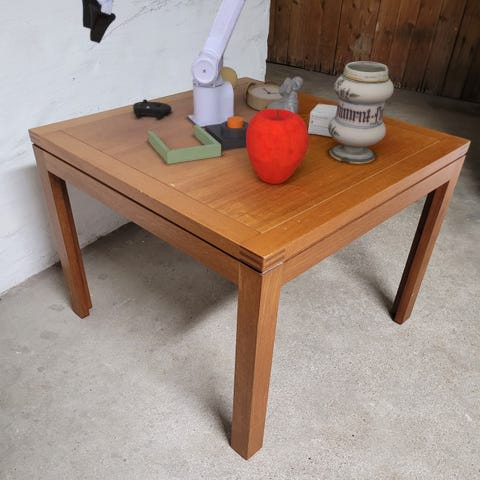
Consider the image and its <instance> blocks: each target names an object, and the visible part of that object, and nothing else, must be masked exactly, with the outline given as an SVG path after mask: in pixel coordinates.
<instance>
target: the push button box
mask: <svg viewBox="0 0 480 480" xmlns="http://www.w3.org/2000/svg"><path fill="white" fill-rule="evenodd" d="M249 123H250V122H247V121H244V125H243V127H242V128H229V127H227V121H225V122H223V123H221V124H215V125H207V126H205V127H204V130H205V131H206V132H207V133H208V134H209V135H211V136H212V137H213V138H214V139H215V140H216V141H217V142H219V143H220V144H221V151H225V150H227V151H228V150H232V149H233V150H234V149H239V148H246V131H247V128H248V125H249Z"/></svg>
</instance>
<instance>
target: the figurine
mask: <svg viewBox="0 0 480 480" xmlns="http://www.w3.org/2000/svg"><path fill="white" fill-rule="evenodd" d="M303 80H304V79H303V78H302V77H300V76H295V77H293V78H290V77H286V79H284V81H283V83H282V84H281V85H280V88H279V94H280V96H283V97H282V98H281V99H277V100H278V101H274V102H272V103H271V104H269V105H268V107H267V109H282V110H287V111H291V112H294V113H296V114H298V115H299V116H300V114H299V109H300V108H299V105H300V104H299V99H298V93H299V91H300V88H302V87H303V84H304V81H303Z"/></svg>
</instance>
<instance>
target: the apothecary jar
mask: <svg viewBox="0 0 480 480" xmlns="http://www.w3.org/2000/svg"><path fill="white" fill-rule="evenodd" d="M333 89H334V93H335V94H336V95H337V96H338V98H337V105H336V106H337V111H336V116H335V117H334V118H333V119H332V120H331V121H330V123H329V125H328V131H329V134H330V135H331V137H330V138H332V139H333V140H334V141H336V142H337V143H339V144H338V145H335V146H333V147H331V148H330V150H329V155H330V156H331V157H332V158H333V159H335V160H337V161H339V162H347V163H348V164H353V165H364V164H369V163H372V162H373V161H375V158H376V154H375V153H374V151H373V150H371V149H370V148H368V147H370V146H374V145H376V144H378V143H379V142H381V141H382V140H383V139H384V138H385V136H386V135H387V134H386V133H387V127H386V125H385V123H384V121H383V117H384V111H385V105H386V104H385V103H386V100H389V98H391V97H392V96H393V94H394V83H393V81H391V79H390V78H389V67H388V66H387V65H386V64H383V63H380V62H374V61H366V60H365V61H363V60H361V61H353V62H352V61H351V62H349V63H348V62H347V64H345V67H344V70H343V72H342V74H341V75H340V76H339V77H338V78H337V79H335V82H334V85H333Z"/></svg>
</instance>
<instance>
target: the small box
mask: <svg viewBox="0 0 480 480" xmlns="http://www.w3.org/2000/svg"><path fill="white" fill-rule="evenodd" d="M336 111H337V105H335V104H334V105H332V104H325V103H318V104H316V106H315V107H314V108H312V110H311V111H310V113H309V120H308V121H309V122H308V127H307V130H308V133H309V135H311V134H312V135H318V136H324V137H330V138H332V137H331V135H330V134H329V131H328V125H329V123H330V121H331V120H332V119H333V118H334V117H335V116H336Z"/></svg>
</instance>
